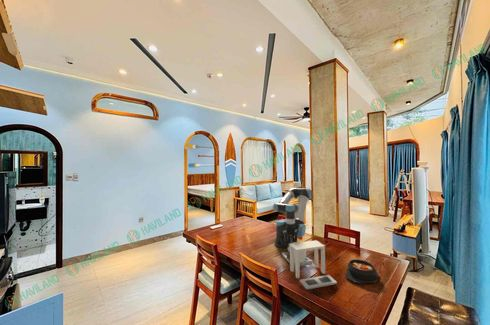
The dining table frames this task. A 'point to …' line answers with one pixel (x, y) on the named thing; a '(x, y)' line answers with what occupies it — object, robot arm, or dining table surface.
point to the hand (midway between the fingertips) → (290, 250)
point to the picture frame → (304, 263)
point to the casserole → (361, 272)
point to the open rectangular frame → (319, 280)
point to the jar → (300, 255)
